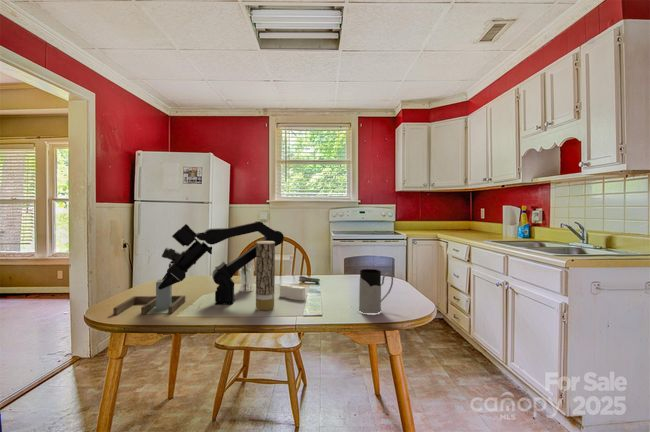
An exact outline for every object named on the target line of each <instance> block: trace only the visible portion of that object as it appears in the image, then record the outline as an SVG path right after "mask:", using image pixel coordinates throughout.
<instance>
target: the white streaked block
mask: <svg viewBox="0 0 650 432" xmlns="http://www.w3.org/2000/svg"><path fill="white" fill-rule="evenodd" d="M255 262H256V260H255V258H254V259H253V260H251V261H250V262H249V263H247V264H246V265H245V266H243V267H242V268H240V269H239V270H238V272H239V278H240V285H239V286H240V288H239V291H240V293H241V292H243V293H249V292H253V291H254V285H253V284H254V275H255V271H256V263H255Z"/></svg>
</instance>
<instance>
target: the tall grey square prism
mask: <svg viewBox="0 0 650 432" xmlns="http://www.w3.org/2000/svg"><path fill="white" fill-rule="evenodd" d="M163 280H164V279H163V278H162V279H157V281H156V282H155V286H156V287H155V296H156V310H161V309H168V307H169V306H170V305H171V304H172V296H173V295H172V292H173V291H172V288H173V287H172V286H173V285H170V286H168V287H166V288H163V289H161V290H160V289H158V287H159V286H160V284H161V283H162V282H163Z"/></svg>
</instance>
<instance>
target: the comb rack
mask: <svg viewBox="0 0 650 432" xmlns="http://www.w3.org/2000/svg"><path fill="white" fill-rule="evenodd" d="M184 303H186V295H183V294H182V295H172V304H171V305H170V306H169V307H168V309H161V310H156V295H134V296H132V297H130V298H128V299H127V300H125V301H123V302H121V303H120V304H118V305H116V306H115V307H113V316H118V315H120V314H121V313H123V312H125V311H126V310H128V309H129V308H131V307H133V306H135V304H144V305H143V306H141V307H140V308H141V309H140V312H141V314H140V315H142V316H143V315H162V314H163V315H166V314H167V315H173V314H174V313H175V312H176V311H177V310H178V309H179V308H180V307H181V306H183V305H184ZM132 305H133V306H132Z"/></svg>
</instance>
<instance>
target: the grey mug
mask: <svg viewBox="0 0 650 432" xmlns="http://www.w3.org/2000/svg"><path fill="white" fill-rule="evenodd" d="M359 274H360V275H359V276H360V277H359V289H358V290H359V296H358V298H359V299H358V301H359V302H358V304H359V305H358V309H359V311H361V312H363V313H378V312H380V311H382V306H381V305H382V302H383V301H384V300H385V299H386V298H387V297H388V295H389V294H390V293H391V290H392V289H393V284H394V276H393V274H391V272H390V273H389V272H386V273H384V275H383V276H382V275H381V274H382V271H381V270H379V269H373V268H372V269H371V268H365V269H360V271H359ZM387 275H390V277H391V280H390V281H391V282H390V287H389V289H388V291H387V292H386V294H385V295H384V296H383V297H382V286H383V285H384V283H385V277H386V276H387ZM381 276H382V277H381Z"/></svg>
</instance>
